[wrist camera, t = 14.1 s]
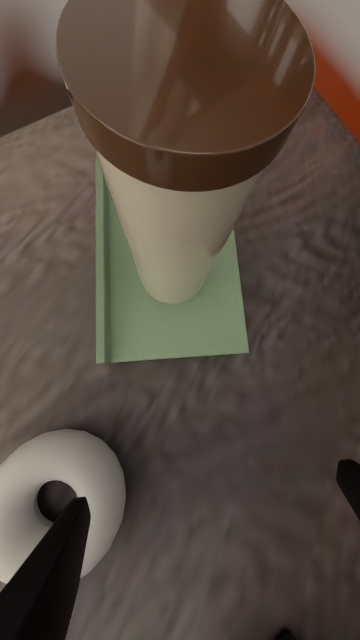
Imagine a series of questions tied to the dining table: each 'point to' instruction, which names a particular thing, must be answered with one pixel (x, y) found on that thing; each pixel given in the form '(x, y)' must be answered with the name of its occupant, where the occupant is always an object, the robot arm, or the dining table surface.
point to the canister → (183, 118)
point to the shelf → (156, 317)
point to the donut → (72, 468)
